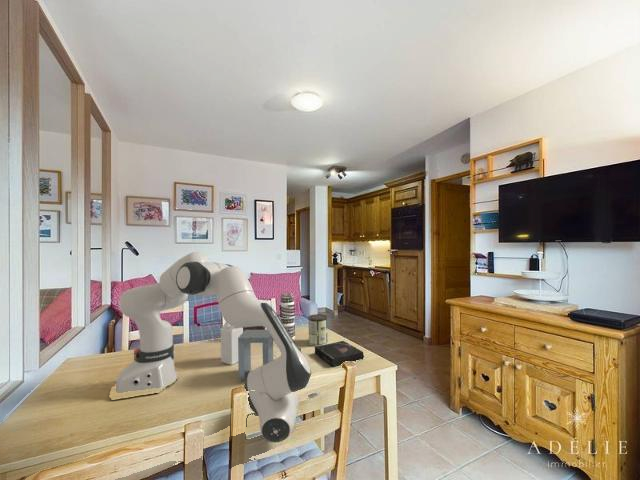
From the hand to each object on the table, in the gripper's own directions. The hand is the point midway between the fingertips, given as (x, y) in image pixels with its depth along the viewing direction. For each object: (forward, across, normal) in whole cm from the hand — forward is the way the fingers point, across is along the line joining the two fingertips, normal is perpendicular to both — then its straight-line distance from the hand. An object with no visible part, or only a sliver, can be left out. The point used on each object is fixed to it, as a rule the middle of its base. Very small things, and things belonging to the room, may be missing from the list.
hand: (290, 374), depth 100 cm
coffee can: (+53, -8, +8) cm, 55 cm away
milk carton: (+31, +31, +8) cm, 45 cm away
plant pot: (+64, +30, +8) cm, 71 cm away
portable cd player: (+35, -18, +9) cm, 41 cm away
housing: (+17, +16, +8) cm, 25 cm away
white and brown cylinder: (+62, +10, +8) cm, 63 cm away
